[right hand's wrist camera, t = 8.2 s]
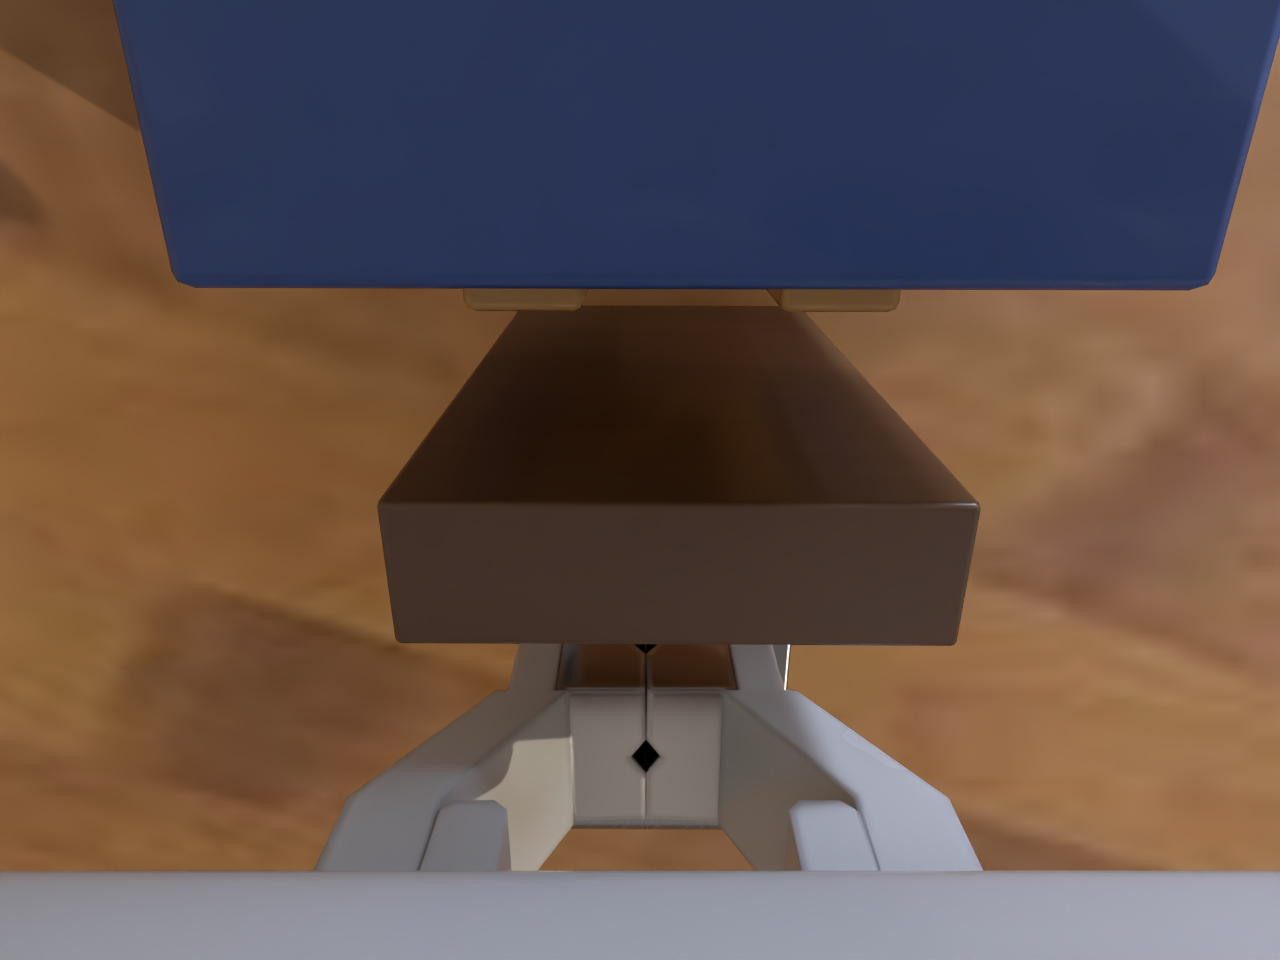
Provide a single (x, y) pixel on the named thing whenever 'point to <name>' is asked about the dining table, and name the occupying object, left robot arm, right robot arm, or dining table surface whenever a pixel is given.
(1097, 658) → the dining table surface
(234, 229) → the cabinet
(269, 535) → the dining table surface
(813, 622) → the drawer
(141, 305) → the dining table surface
